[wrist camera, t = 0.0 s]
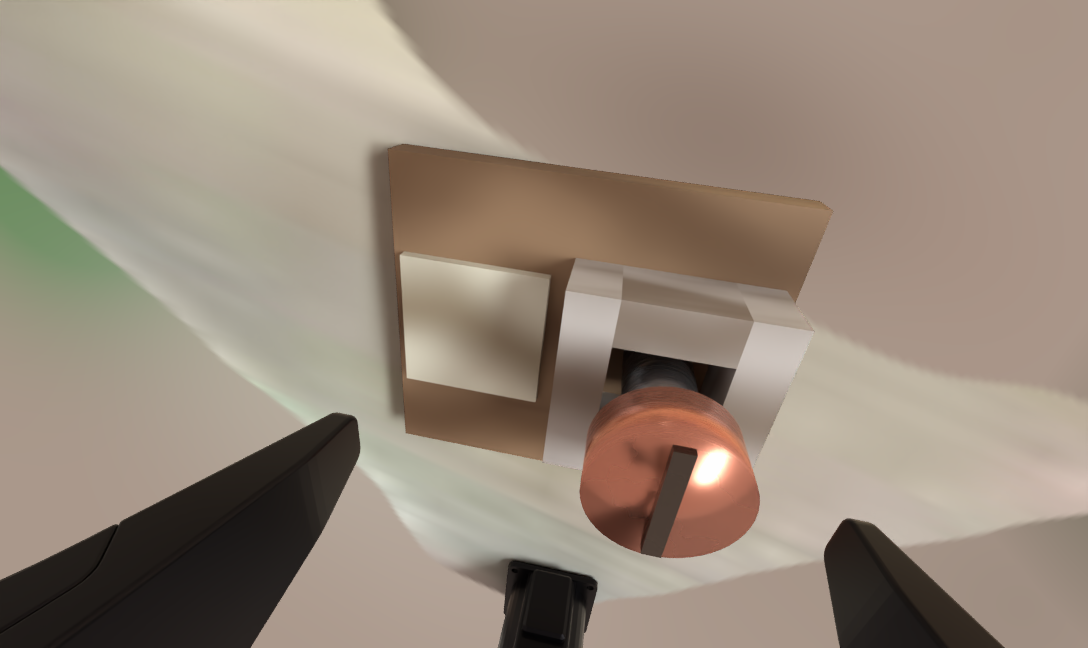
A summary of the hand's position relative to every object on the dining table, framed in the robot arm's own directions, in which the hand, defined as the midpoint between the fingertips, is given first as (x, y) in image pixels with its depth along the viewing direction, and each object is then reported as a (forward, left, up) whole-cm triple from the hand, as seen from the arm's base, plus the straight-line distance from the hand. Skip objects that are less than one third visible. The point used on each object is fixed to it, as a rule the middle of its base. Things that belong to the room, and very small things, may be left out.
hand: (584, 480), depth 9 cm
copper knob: (-5, -3, -13) cm, 15 cm away
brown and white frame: (-5, +1, -15) cm, 16 cm away
